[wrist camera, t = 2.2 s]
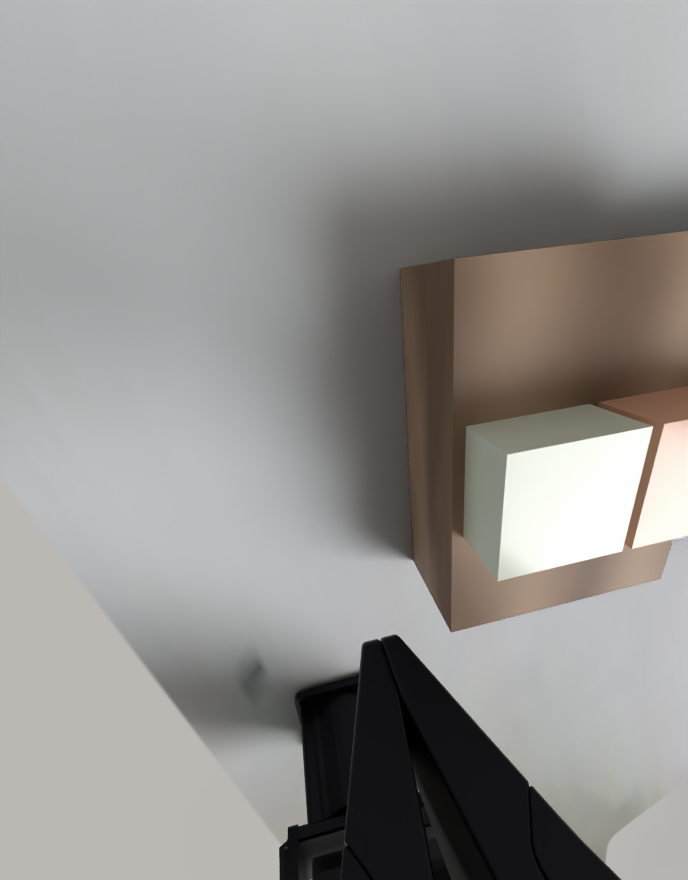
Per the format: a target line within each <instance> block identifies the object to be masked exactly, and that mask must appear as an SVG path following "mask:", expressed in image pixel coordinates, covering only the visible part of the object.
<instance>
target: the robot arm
mask: <svg viewBox="0 0 688 880" xmlns="http://www.w3.org/2000/svg"><path fill="white" fill-rule="evenodd" d="M295 705H296V709H297V713H298V716H299V720H300V724H301V730H302V745H303V760H304V776H305V791H306V806H307V821H308V824H306V825H302V826H299V827H298V824H297V825H294V826H290V827H288V839H287V841H286V842H285V843H284V844H283V845H282V846H281V847H280V848H279V858H280V880H311V879H312V880H621V879H620V878H619V877H618V876H617V875H616V874H615V873H614V872H613V871H612V870H611V869H610V868H609V867H608V866H607V865H606V864H605V863H604V862H603V861H602V860H601V859H600V858H599V857H598V856H597V855H596V854H595V853H594V852H593V851H592V850H591V849H590V848H589V847H588V846H587V845H586V844H585V843H584V842H583V841H582V840H581V839H580V838H579V836H578V835H577V834H576V833H575V832H574V831H573V830H572V829H571V828H570V827H569V826H568V825H567V824H566V822H565V821H564V820H563V819H562V818H561V817H560V816H559V815H558V814H557V813H556V812H555V811H554V810H553V809H552V807H551V806H550V805H549V804H548V803H547V802H546V801H545V800H544V798H543V797H542V796H541V795H540V794H539V793H538V792H537V791H536V789H535V788H534V787H533V786H530V787H529V783H528V781H527V780H526V778H525V777H524V776H523V775H522V774H521V773H520V772H519V771H518V769H517V768H516V767H515V766H514V765H513V764H512V763H511V762H510V760H509V759H508V758H507V757H506V756H505V755H504V754H503V753H502V752H501V750H500V749H499V748H498V747H497V746H496V745H495V744H494V743H493V741H492V740H491V739H490V738H489V737H488V736H487V735H486V734H485V732H484V731H483V730H482V729H481V728H480V727H479V726H478V725H477V723H476V722H475V721H474V720H473V719H472V718H471V717H470V716H469V714H468V713H467V712H466V711H465V710H464V709H463V708H462V707H461V705H460V704H459V703H458V702H457V701H456V700H455V699H454V698H453V696H452V695H451V694H450V693H449V692H448V691H447V690H446V689H445V687H444V686H443V685H442V684H441V683H440V682H439V681H438V680H437V679H436V677H435V676H434V675H433V674H432V673H431V672H430V671H429V670H428V668H427V667H426V666H425V665H424V664H423V663H422V662H421V661H420V659H419V658H418V657H417V656H416V655H415V654H414V653H413V652H412V650H411V649H410V648H409V647H408V646H407V645H406V644H405V643H404V641H403V640H402V639H401V638H400V637H399V636H397V635H391V636H387V637H383V638H381V640H380V641H379V640H378V639H375V640H371V641H367V642H364V643H363V644H362V650H361V661H360V672H359V677H355V678H352V679H348V680H344V681H340V682H336V683H333V684H329V685H325V686H321V687H317V688H314V689H310V690H306V691H302V692H299V693H298V694H296V696H295ZM417 787H418V788H417ZM418 790H419V792H418Z"/></svg>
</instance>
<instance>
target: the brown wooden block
mask: <svg viewBox="0 0 688 880" xmlns="http://www.w3.org/2000/svg"><path fill="white" fill-rule="evenodd" d="M400 275H401V297H402V319H403V341H404V363H405V385H406V407H407V429H408V451H409V473H410V495H411V517H412V539H413V561H414V563H415V565H416V567H417V569H418V570H419V572H420V574H421V576H422V578H423V580H424V582H425V584H426V586H427V588H428V589H429V591H430V593H431V595H432V597H433V599H434V601H435V603H436V605H437V607H438V608H439V610H440V612H441V614H442V616H443V618H444V620H445V622H446V624H447V626H448V627H449V629H450V631H451V632H455V631H459V630H463V629H467V628H471V627H474V626H478V625H482V624H486V623H490V622H494V621H498V620H502V619H506V618H510V617H513V616H517V615H521V614H525V613H529V612H533V611H537V610H541V609H545V608H549V607H553V606H556V605H560V604H564V603H568V602H572V601H576V600H580V599H584V598H588V597H592V596H595V595H599V594H603V593H607V592H611V591H615V590H619V589H623V588H627V587H631V586H635V585H638V584H642V583H646V582H650V581H654V580H658V579H661V576H662V573H663V570H664V567H665V564H666V560H667V557H668V554H669V551H670V548H671V545H672V541H673V539H671V540H667V541H663V542H659V543H655V544H650V545H646V546H642V547H638V548H634V549H631V548H630V547H628V546H627V545H625V544H624V546H623V550H622V551H621V552H617V553H613V554H609V555H605V556H601V557H597V558H592V559H588V560H584V561H580V562H576V563H572V564H568V565H563V566H559V567H555V568H551V569H547V570H543V571H539V572H534V573H530V574H526V575H522V576H518V577H514V578H510V579H505V580H501V581H497V580H496V579H495V577H494V576H493V575H492V574H491V572H490V571H489V570H488V569H487V567H486V566H485V565H484V563H483V562H482V561H481V560H480V558H479V557H478V556H477V554H476V553H475V552H474V551H473V549H472V548H471V547H470V545H469V544H468V543H467V542H466V540H465V539H464V538H463V527H464V487H465V446H466V426H470V425H476V424H481V423H487V422H492V421H498V420H504V419H509V418H515V417H520V416H526V415H531V414H537V413H542V412H548V411H553V410H559V409H564V408H570V407H575V406H581V405H586V404H591V405H594V406H597V407H598V404H599V402H603V401H608V400H614V399H619V398H625V397H630V396H636V395H641V394H647V393H652V392H658V391H664V390H669V389H675V388H680V387H686V386H688V231H683V232H674V233H666V234H657V235H649V236H640V237H632V238H624V239H615V240H607V241H598V242H590V243H582V244H573V245H565V246H556V247H548V248H539V249H531V250H523V251H514V252H506V253H497V254H489V255H480V256H472V257H464V258H455V259H450V260H444V261H439V262H434V263H429V264H423V265H418V266H413V267H408V268H403V269H400Z"/></svg>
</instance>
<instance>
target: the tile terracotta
mask: <svg viewBox="0 0 688 880" xmlns="http://www.w3.org/2000/svg"><path fill="white" fill-rule="evenodd" d="M598 407H600V408H602V409H605V410H608V411H611V412H614V413H617V414H620V415H623V416H625V417H628V418H631V419H634V420H637V421H640V422H643V423H645V424H648V425H651V426H653V430H652V434H651V438H650V442H649V446H648V450H647V454H646V458H645V462H644V466H643V470H642V474H641V478H640V482H639V486H638V490H637V494H636V498H635V502H634V506H633V510H632V514H631V518H630V522H629V526H628V530H627V534H626V538H625V542H624V544H625V545H627V546H628V547H630V548H631V549H634V548H638V547H642V546H646V545H650V544H655V543H659V542H663V541H667V540H671V539H675V538H679V537H684V536H688V386H686V387H680V388H675V389H669V390H664V391H658V392H652V393H647V394H641V395H636V396H630V397H625V398H619V399H614V400H608V401H603V402H599V404H598Z"/></svg>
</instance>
